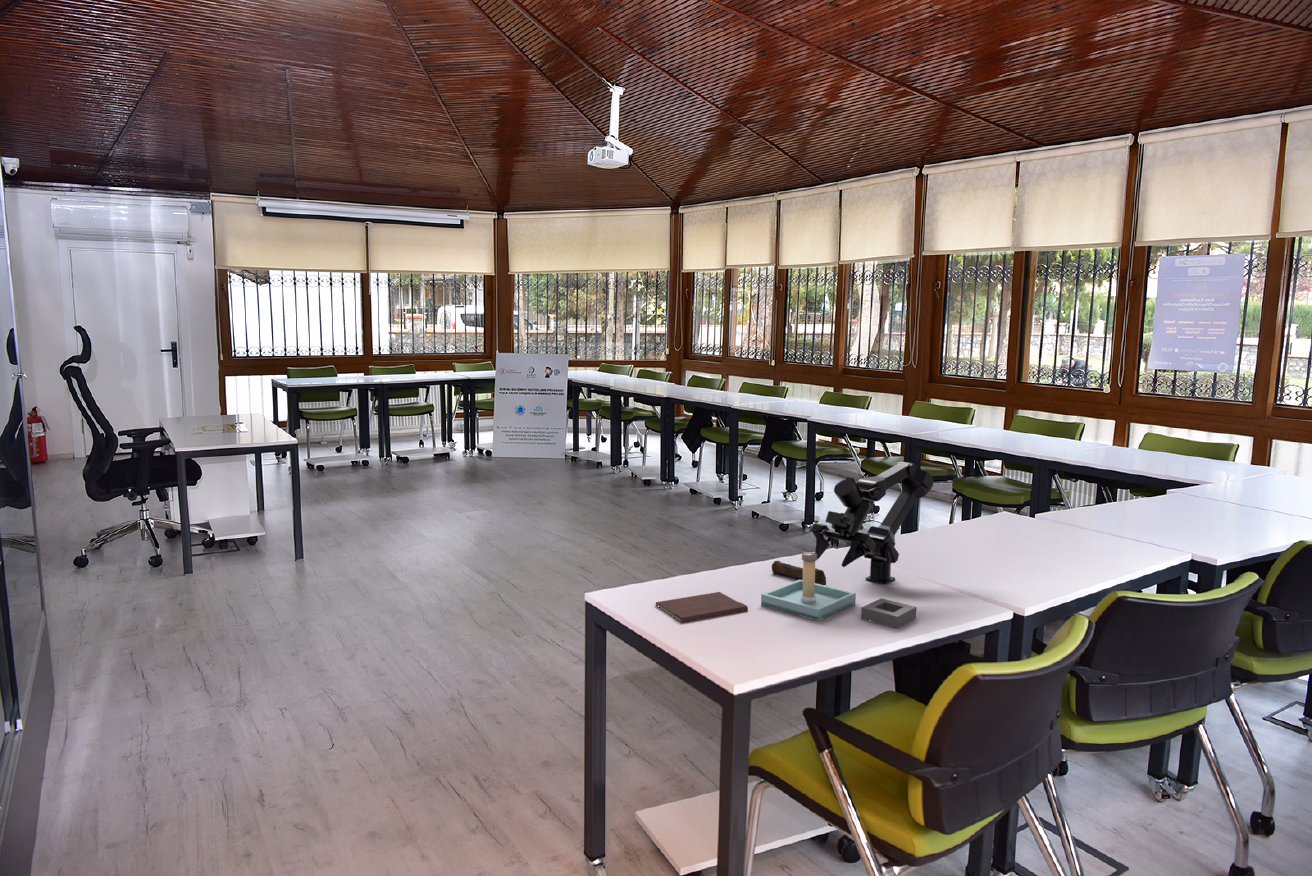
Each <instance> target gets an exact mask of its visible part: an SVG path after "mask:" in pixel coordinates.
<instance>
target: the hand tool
mask: <svg viewBox="0 0 1312 876" xmlns="http://www.w3.org/2000/svg"><path fill="white" fill-rule="evenodd" d="M771 571H772V574H777V575H778V574H780V575H784V576H788V577H792V578H796V579H798V580H803V567H800V566H796V565H792V564H789V563H785V562H782V561H780V560H775V561H773V563H772V564H771ZM824 572H825V571H824V570H822V569H818V568H816V567H815V583H816V584H820V585H825V586H827V577H826V574H825V573H824Z"/></svg>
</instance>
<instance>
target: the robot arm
mask: <svg viewBox="0 0 1312 876" xmlns="http://www.w3.org/2000/svg"><path fill="white" fill-rule="evenodd" d="M934 482H935V481H934V478H933V477H932V474H931V473H930V472H927V471H926V470H923V469H921V468H920V467H918V466H916V464H914V463H912V462H909V461H908V462H907V461H898V462H897V463H896V464H895V465H893V466H892V467H890V468H888V469H886V470H884V471H883V472H881V473H879V474H878V475H875V476H867V477H863V478H860V479H858V480H857V481H856V479H855V478H854V477H851V476H846V478H845V479H842V480H840V481H839V482H837V484H835V486H834V488H833V491H834V494H835V496H836V497H837V498H838V499H839V501H840V502H841V503H842V506H844V507H846V510H845V512H836V511H831V510H828V512H827V515H826V518H825V521H824V522H825V523H828V524H830V525H831V526H830V527H831V528H832V529H833V530H834V531H833V530H831V529H829V527H828V526H827V524H823V523H819V522H816V523H813V524H812V526H811V528H810V532H811V533H812V534H813V536H814V537H815V539H816V540H815V541H816V543H815V548H814V553H816V554H817V560H816V561H818V560H819V559H820V558H821V557H822V555H823V554H824V553H825V552H826V550H827V549H828V547H829V546H830V545H831V544H830V543H831V542H832V540H833V539H834V540H838V541H843V542H848V543H850V546H849V549H848V551H847V553H846V554H845V556H844V558H843V560H842V563H841V566H842V568H845V567H847V566H849V565H850V564H851V563H853V562H854V561H856V560H857V559H859V558H861V557H863V556H864V557H863V558H865V559H870V569H869V576H867V577H864V578H865V580H867V581H870V582H875V583H879V584H883V585H885V584H888V583H890V582H892V581H894V580H896V577H894V576H891V575H892V574H891V571H892V570H891V569H892V564H895V563H896V562H898V561H899V556H900V553H899V552H898V550H897V549H896V547H895V546H896V538H895V536H896V534H897V532H898V530H899V529H900V528H901V526H902V524H903V522H904V521H905V519H906V518H907V516H908V515H909V513H910V511H911V509H913V506H914V505H915V503H916V502H917V500H920V499H922V498H923V497H925V496H926V495H928V493H929V492H930V491H931V490H932V488H933V487H934ZM899 483H900V485H901V492H900V493H899V495H898V497H897V498H896V499H895V501H894V503H893V504H892V506H891V507H890V509H889V511H888V513H887V514H886V515H885V516H884V518H883V520H882V522H881V523H880V525H879V526H874V525H872V526H870V527H869V528H868V531H867V533H864V532H859V531H863V530H864V526H863V524H864V522H865V519H866V518H867V516H868V514H869V515H874V512H875V511H874V509H873V504H871V503H870V502H869V501H871V502H879V501H880V500H882V499H883V498H884V497H885V496H886V495H887V491H888V490H889V489H891V488H892V487H893V486H895V485H897V484H899Z"/></svg>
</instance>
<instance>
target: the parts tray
mask: <svg viewBox="0 0 1312 876" xmlns="http://www.w3.org/2000/svg"><path fill="white" fill-rule="evenodd" d="M802 593H803V579H798V580H795V581H792V582H790V583H787V584H785V585H781V586H778V587H776V588H774V589H772V590H768V591H767V592H766V591H765V592H763V593H761V597H760V598H761V599H760V600H761V601H760V605H761V606H764V607H767V606H768V607H767V608H770V607H771V609H774V610H777V611H781V612H784V611H786V612H785V613H788V612H789V613H788V614H792V615H795V616H798V615H801V616H800V617H802V616H804V617H803V618H805V617H807V618H806V619H809V618H811V619H810V620H812V621H816V620H820V621H822V620H824V619H826V618H828V617H830V616H832V614H833V615H834V614H837V613H839V612H841V611H844V610H846V609H848V608H850V607H852V606H854V604H855V605H856V603H857V602H856V599H857V598H856V597H857V595H856V592H852V591H848V590H844V589H840V588H836V587H831V586H827V585H825V586H824V585H820V584H816V583H815V595H816V602H815V603H803V602H801V594H802ZM849 606H850V607H849ZM845 608H846V609H845ZM838 611H839V612H838ZM829 615H830V616H829ZM827 616H828V617H827ZM825 617H826V618H825ZM823 618H824V619H823ZM821 619H822V620H821Z"/></svg>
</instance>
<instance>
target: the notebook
mask: <svg viewBox="0 0 1312 876" xmlns="http://www.w3.org/2000/svg"><path fill="white" fill-rule="evenodd" d="M657 606H659V607H660V608H661V609H660V608H659V607H658V608H659V609H660V610H662V611H663V610H664V612H665V611H666V612H667V613H666V612H665V613H666V614H668V613H669V614H670V615H669V614H668V615H669V616H671V615H672V616H673V618H674V617H675V618H676V619H675V618H674V619H675V620H677V621H678V620H680V621H681V622H680V621H679V622H680V623H681V624H685V623H684V622H686V623H690V621H691V622H695V621H700V620H706V619H713V618H718V617H722V616H724V617H725V616H728V615H733V614H739V613H744V612H745V613H746V612H748V611H749V609H748V606H747V605H746V604H744V603H743V602H739V601H737V600H736V599H734V598H732V597H729V595H727V594H724V593H722V592H721V591H715V592H711V593H710V592H708V593H704V594H703V593H702V594H699V595H692V596H686V597H679V598H673V599H668V600H660V601H656V602H655V607H657ZM672 616H671V617H672Z"/></svg>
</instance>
